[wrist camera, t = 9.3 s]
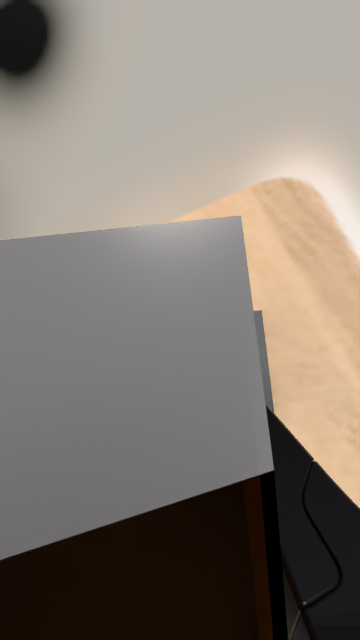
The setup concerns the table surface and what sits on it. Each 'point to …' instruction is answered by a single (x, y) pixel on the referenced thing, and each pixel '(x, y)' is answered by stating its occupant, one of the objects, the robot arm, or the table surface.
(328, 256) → the table surface
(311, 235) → the table surface
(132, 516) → the capped orange pillar
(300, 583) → the robot arm
